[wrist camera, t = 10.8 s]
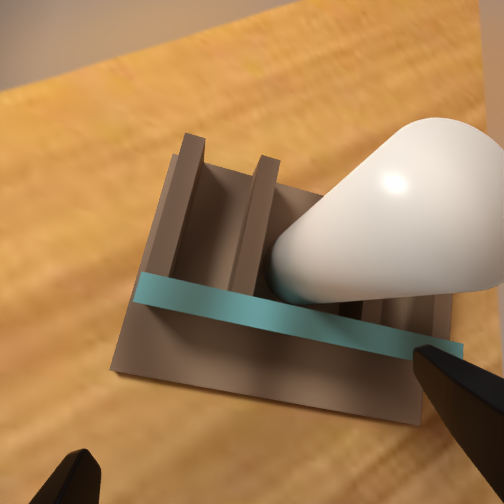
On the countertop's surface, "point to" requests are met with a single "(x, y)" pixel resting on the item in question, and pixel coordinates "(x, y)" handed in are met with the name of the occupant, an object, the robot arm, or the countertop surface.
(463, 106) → the countertop surface
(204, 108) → the countertop surface
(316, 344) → the comb rack
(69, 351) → the countertop surface
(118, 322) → the countertop surface
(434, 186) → the white cylinder
